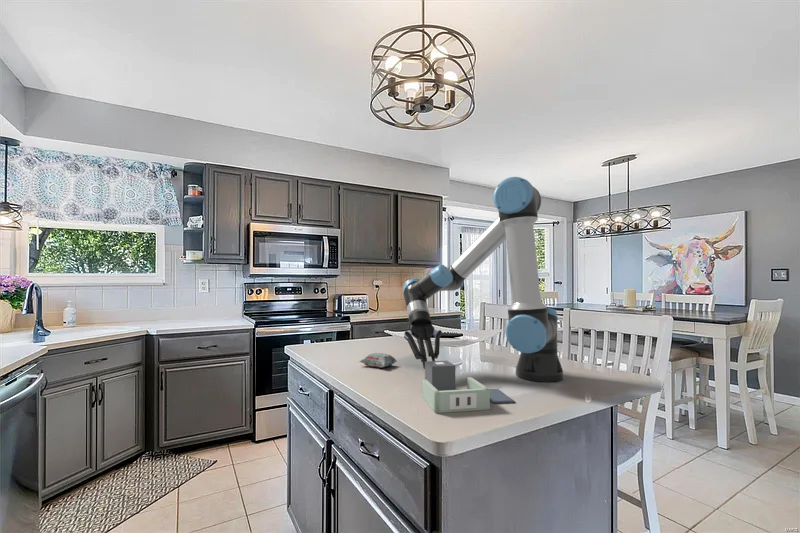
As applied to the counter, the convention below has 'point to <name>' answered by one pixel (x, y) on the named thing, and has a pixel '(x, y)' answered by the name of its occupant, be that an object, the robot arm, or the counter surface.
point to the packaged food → (378, 360)
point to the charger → (440, 374)
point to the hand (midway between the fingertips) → (432, 377)
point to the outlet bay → (457, 397)
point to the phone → (499, 397)
